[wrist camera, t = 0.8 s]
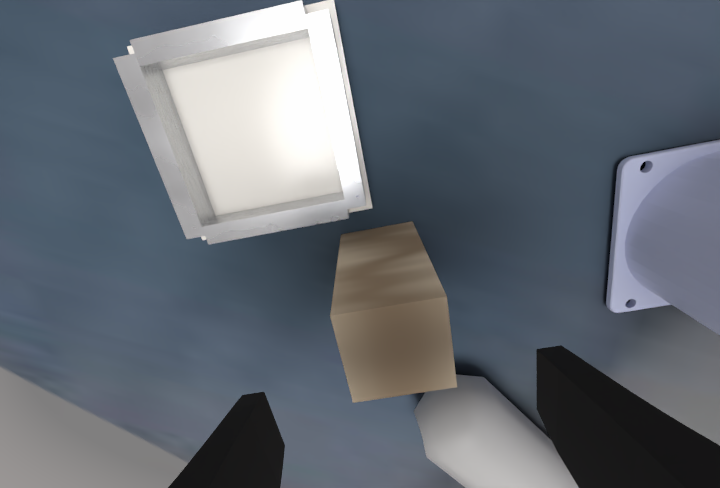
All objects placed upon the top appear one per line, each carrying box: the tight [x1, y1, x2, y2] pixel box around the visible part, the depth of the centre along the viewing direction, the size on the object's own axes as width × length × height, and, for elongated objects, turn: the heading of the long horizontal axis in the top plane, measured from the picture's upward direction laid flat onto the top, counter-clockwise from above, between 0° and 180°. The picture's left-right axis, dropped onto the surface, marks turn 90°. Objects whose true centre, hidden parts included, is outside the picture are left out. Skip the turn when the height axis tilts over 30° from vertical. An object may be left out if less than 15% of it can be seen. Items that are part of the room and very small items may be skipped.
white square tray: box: [113, 0, 366, 245], centre depth 14 cm, size 8×8×2 cm
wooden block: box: [330, 221, 457, 403], centre depth 14 cm, size 4×4×7 cm
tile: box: [127, 0, 372, 240], centre depth 15 cm, size 8×8×1 cm
